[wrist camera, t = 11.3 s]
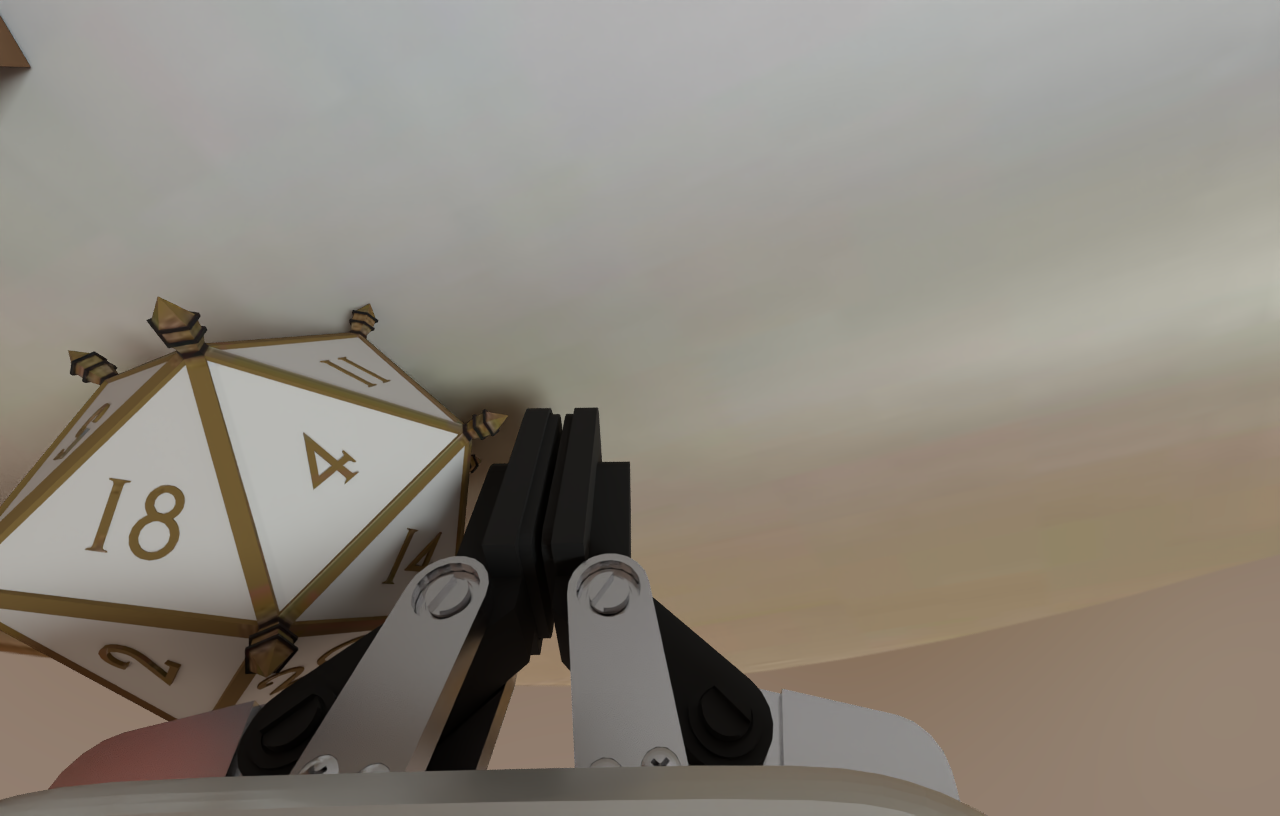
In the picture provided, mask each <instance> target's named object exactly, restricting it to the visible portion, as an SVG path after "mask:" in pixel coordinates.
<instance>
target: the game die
mask: <svg viewBox="0 0 1280 816" xmlns="http://www.w3.org/2000/svg"><path fill="white" fill-rule="evenodd" d="M352 313H353V319H350V324H351V331H350V333H338V334H324V335H311V336H298V337H284V338H271V339H258V340H244V341H231V342H218V343H205V342H204V334H205V333H206V331H207V328H206V327H205V326H201V325H200V324H199V322H198V319H199V318H200V314H199V313H197V312H190V311H187V310H185V309H183V308H181V307H179V306H177V305H175V304H173V303H170V302H168V301H166V300H164V299H162V298H160V297H157V301H156V305H155V309H154V312H153V316H152V318H151V319H148V320H147V322H148V323H149V324H150V326H151V327H152V328H153V329H154V331H155V332H156V333H157V335H158V336H159V337H160V338H161V340H162V341H163V342H164V343H165V345H166V346H167V347H168V348H172V347H173V348H174V349H176V351H175V352H172V353H170V354H167V355H165V356H162V357H160V358H157V359H155V360H152V361H150V362H148V363H145V364H143V365H140V366H138V367H135V368H133V369H130V370H128V371H125V372H123V373H120V374H118V373H117V371H116V369H117V367H116V366H115V365H113V364H111V363H109V362H108V361H107V359H106V358H104V357H103V356H101V355H99V354H98V353H96V352H92V353H84V352H77V351H69V350H68V351H69V356H70V360H71V369H70V374H71V375H79V376H80V377H82V378H83V379H82V381H83V382H85V383H88V382H92V383H95V384H99V385H100V387H99V388H98V389H97V390H96V392H95V393H94V394H93V395H92V396H91V398H90V399H89V400H88V401H87V402H86V404H85V405H84V406H83V407H82V408H81V410H80V411H79V412H78V413H77V415H76V416H75V417H74V418H73V419H72V421H71V422H70V423H69V424H68V425H67V427H66V428H65V429H64V430H63V431H62V433H61V434H60V435H59V436H58V438H57V439H56V440H55V441H54V442H53V444H52V445H51V446H50V447H49V448H48V450H47V451H46V452H45V453H44V454H43V456H42V457H41V458H40V459H39V461H38V462H37V463H36V464H35V465H34V467H33V468H32V469H31V470H30V471H29V473H28V474H27V475H26V476H25V478H24V479H23V480H22V481H21V482H20V484H19V485H18V486H17V487H16V488H15V490H14V491H13V492H12V493H11V494H10V496H9V497H8V498H7V499H6V501H5V502H4V503H3V504H2V505H1V507H0V630H1V631H3V632H5V633H6V634H8V635H10V636H12V637H14V638H16V639H18V640H19V641H21V642H23V643H25V644H27V645H29V646H30V647H32V648H34V649H36V650H38V651H40V652H42V653H43V654H45V655H47V656H49V657H51V658H53V659H54V660H56V661H58V662H60V663H62V664H64V665H66V666H68V667H69V668H71V669H73V670H75V671H77V672H78V673H80V674H82V675H84V676H86V677H88V678H90V679H92V680H93V681H95V682H97V683H99V684H101V685H102V686H104V687H106V688H108V689H110V690H112V691H114V692H115V693H117V694H119V695H121V696H123V697H125V698H127V699H128V700H130V701H132V702H134V703H136V704H138V705H140V706H142V707H143V708H145V709H147V710H149V711H151V712H153V713H154V714H156V715H158V716H160V717H162V718H163V719H165V720H167V721H173V720H177V719H181V718H185V717H189V716H193V715H197V714H201V713H205V712H209V711H213V710H217V709H222V708H226V707H230V706H234V705H238V704H242V703H246V702H250V701H254V700H255V701H256V702H257V703H258V704H259V705H262V704H266V703H267V702H269V701H270V700H271V699H272V698H274V697H275V696H276V695H277V694H279V693H280V692H281V691H282V690H284V689H285V688H287V687H288V686H290V685H291V684H293V683H294V682H296V681H297V680H299V679H300V678H302V677H303V676H305V675H306V674H308V673H309V672H311V671H312V670H314V669H315V668H317V667H318V666H320V665H321V664H323V663H324V662H326V661H327V660H329V659H330V658H332V657H333V656H335V655H336V654H338V653H339V652H341V651H342V650H344V649H345V648H347V647H348V646H350V645H351V644H353V643H354V642H356V641H357V640H359V639H360V638H362V637H363V636H365V635H366V634H368V633H369V632H371V631H372V630H374V629H375V628H377V627H378V626H380V625H381V624H383V623H384V622H385V621H386V619H387V617H388V616H389V614H390V613H391V611H392V609H393V608H394V606H395V605H396V603H397V601H398V600H399V598H400V597H401V595H402V593H403V592H404V590H405V589H406V587H407V585H408V584H409V583H410V582H411V580H412V579H413V578H414V577H415V575H416V574H418V573H419V572H420V571H421V570H423V569H424V568H425V567H427V566H428V565H430V564H432V563H434V562H436V561H438V560H441V559H445V558H448V557H452V556H456V555H457V553H458V550H459V547H460V545H461V542H462V539H463V537H464V527H465V516H466V505H467V493H468V482H469V472H471V473H473V472H474V471H475V470H476V469H477V467H478V466H479V465H478V464H479V463H480V462H481V461H482V460H480V459H479V458H477V457H475V455H471V448H472V439H474V438H480V439H481V440H483V439H485V438H486V437H487V436H488V435H490V434H491V435H492V436H494V435H495V434H497V433H498V432H499V427H500V426H501V425H502V423H503V422H504V421H505V419H506V418H507V417H508V415H503V414H497V413H491V412H488V411H487V410H485V409H484V410H483V413H482V414H480V415H478V416H477V415H473V419H472V420H471V421H469V422H468V423H467V424H464V423H463V422H462V421H460V420H459V419H458V418H457V417H456V416H455V415H453V414H452V413H451V412H450V411H449V410H448V409H446V408H445V407H444V406H443V405H442V404H441V403H440V402H438V401H437V400H436V399H435V398H434V397H433V396H431V395H430V394H429V393H428V392H427V391H426V390H424V389H423V388H422V387H421V386H420V385H419V384H418V383H416V382H415V381H414V380H413V379H412V378H411V377H409V376H408V375H407V374H406V373H405V372H404V371H402V370H401V369H400V368H399V367H398V366H397V365H396V364H394V363H393V362H392V361H391V360H390V359H389V358H387V357H386V356H385V355H384V354H383V353H382V352H381V351H379V350H378V349H377V348H376V347H375V346H374V345H372V344H371V343H370V342H369V341H368V340H367V339H366V338H367V335H368V333H369V332H370V331H374V329H375V328H373V326H374V324H375V323H377V322H378V320H377V319H376V318H375V316H374V313H373V310H372V308H371V305H370V304H368V305H366V306H364V307H362V308H360V309H359V310H357V311H355V310H353V311H352Z"/></svg>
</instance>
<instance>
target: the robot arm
mask: <svg viewBox="0 0 1280 816" xmlns="http://www.w3.org/2000/svg"><path fill="white" fill-rule="evenodd" d="M554 623H555V629H556V634H557V639H558V644H559V650H560V655H561V660H562V662H563V663H564V665H565V666H566V667H567V668H568V669H569V670H570V671H571V690H572V712H573V713H572V714H573V736H574V759H575V768H548V769H505V770H487V767H488V764H489V761H490V759H491V755H492V753H493V749H494V747H495V744H496V740H497V738H498V735H499V732H500V728H501V726H502V723H503V720H504V717H505V714H506V711H507V708H508V705H509V702H510V699H511V696H512V693H513V690H514V687H515V682H516V677H517V674H516V673H517V672H518V671H520V670H521V669H522V668H523V667H524V666H525V665H526V664H528V663H529V661H530V655H540V653H541V646H542V640H543V638H551V636H552V632H553V626H554ZM0 816H987V815H986V814H984V813H982V812H981V811H979V810H977V809H975V808H973V807H971V806H969V805H967V804H965V803H962V802H960V800H959V795H958V792H957V788H956V784H955V781H954V777H953V774H952V770H951V768H950V766H949V763H948V761H947V759H946V756H945V754H944V752H943V750H942V749H941V748H940V747H939V746H938V744H937V743H936V742H935V740H934V739H933V738H932V736H931V735H930V734H929V733H927V732H926V731H925V730H924V729H922V728H921V727H920V726H918V725H917V724H916V723H915V722H913V721H910V720H908V719H906V718H903V717H901V716H898V715H895V714H890V713H886V712H881V711H877V710H872V709H868V708H864V707H860V706H855V705H851V704H846V703H842V702H837V701H833V700H829V699H825V698H820V697H816V696H811V695H806V694H803V693H798V692H794V691H789V690H785V689H782V690H781V693H780V694H779V693H775V692H770V691H766V690H762V689H759V688H757V686H756V685H755V684H754V683H753V682H752V681H751V680H750V679H749V678H748V677H747V676H745V675H744V674H743V673H742V672H741V671H740V670H738V669H737V668H736V667H735V666H734V665H732V664H731V663H730V662H729V661H728V660H727V659H725V658H724V657H723V656H722V655H721V654H719V653H718V652H717V651H716V650H715V649H714V648H712V647H711V646H710V645H709V644H708V643H706V642H705V641H704V640H703V639H702V638H701V637H699V636H698V635H697V634H696V633H695V632H693V631H692V630H691V629H690V628H689V627H688V626H686V625H685V624H684V623H683V622H682V621H680V620H679V619H678V618H677V617H676V616H675V615H673V614H672V613H671V612H670V611H669V610H667V609H666V608H665V607H664V606H663V605H662V604H660V603H659V602H658V601H657V600H656V599H654V598H653V597H652V593H651V588H650V584H649V580H648V577H647V575H646V572H645V570H644V569H643V568H642V567H641V566H640V565H639V564H638V562H636V561H634V560H633V559H631V496H630V462H602V455H601V439H600V424H599V411H598V408H575V409H574V414H566V416H565V420H564V425H563V430H562V423H561V417H560V414H553V413H552V410H551V408H533V409H526V412H525V414H524V418H523V421H522V424H521V427H520V430H519V433H518V436H517V439H516V442H515V445H514V448H513V451H512V454H511V457H510V460H509V463H508V464H493V465H491V467H490V469H489V470H488V473H487V476H486V478H485V481H484V484H483V486H482V489H481V492H480V494H479V497H478V500H477V502H476V505H475V508H474V510H473V513H472V515H471V518H470V521H469V523H468V526H467V529H466V531H465V534H464V537H463V539H462V542H461V545H460V547H459V550H458V553H457V555H456V556H452V557H448V558H445V559H441V560H438V561H436V562H434V563H432V564H430V565H428V566H427V567H425V568H424V569H423V570H421V571H420V572H419V573H418V574H416V575H415V577H414V578H413V579H412V580H411V582H410V583H409V584H408V585H407V587H406V589H405V590H404V592H403V593H402V595H401V597H400V598H399V600H398V601H397V603H396V605H395V606H394V608H393V609H392V611H391V613H390V614H389V616H388V617H387V619H386V621H385V622H384V623H383V624H381V625H380V626H378V627H377V628H375V629H374V630H372V631H371V632H369V633H368V634H366V635H365V636H363V637H362V638H360V639H359V640H357V641H356V642H354V643H353V644H351V645H350V646H348V647H347V648H345V649H344V650H342V651H341V652H339V653H338V654H336V655H335V656H333V657H332V658H330V659H329V660H327V661H326V662H324V663H323V664H321V665H320V666H318V667H317V668H315V669H314V670H312V671H311V672H309V673H308V674H306V675H305V676H303V677H302V678H300V679H299V680H297V681H296V682H294V683H293V684H291V685H290V686H288V687H287V688H285V689H284V690H282V691H281V692H280V693H279V694H277V695H276V696H275V697H274V698H272V699H271V700H270V701H269V702H267V703H266V704H262V705H259V704H258V703H257V702H256V701H255V700H254V701H250V702H246V703H242V704H238V705H234V706H230V707H226V708H222V709H217V710H213V711H209V712H205V713H201V714H197V715H193V716H189V717H185V718H181V719H177V720H173V721H169V722H165V723H161V724H157V725H153V726H149V727H145V728H140V729H137V730H133V731H129V732H124V733H122V734H119V735H117V736H114V737H111V738H109V739H106V740H104V741H102V742H101V743H100V744H98V745H96V746H94V747H93V748H91V749H90V750H88V751H86V752H85V753H83V754H82V755H81V756H80V757H79V758H78V759H76V760H75V761H74V762H73V763H72V764H71V765H69V766H68V767H67V768H66V769H65V770H64V771H63V772H62V773H61V774H60V775H59V776H58V778H57V779H56V780H55V781H54V783H53V784H52V785H51V786H50V788H49V789H48V790H43V791H38V792H33V793H27V794H23V795H17V796H13V797H10V798H6V799H2V800H0Z"/></svg>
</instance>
